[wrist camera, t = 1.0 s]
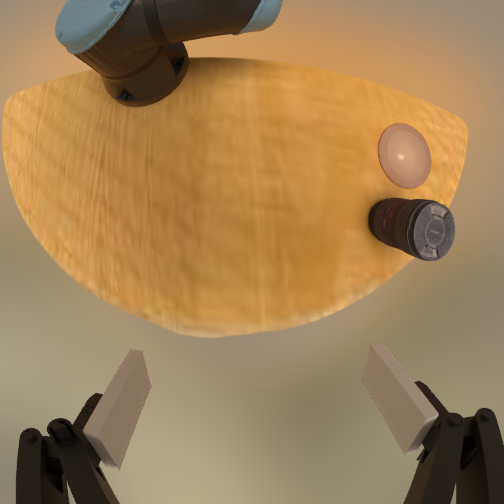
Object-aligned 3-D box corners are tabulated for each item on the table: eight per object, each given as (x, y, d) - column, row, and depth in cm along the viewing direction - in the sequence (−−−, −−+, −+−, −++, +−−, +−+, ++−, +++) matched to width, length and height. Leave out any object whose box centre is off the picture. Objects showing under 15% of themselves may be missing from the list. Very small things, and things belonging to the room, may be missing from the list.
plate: (366, 137, 40) (368, 136, 40) (411, 116, 39) (413, 115, 39) (396, 199, 43) (398, 199, 42) (437, 173, 42) (439, 172, 41)
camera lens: (366, 193, 42) (417, 195, 28) (404, 200, 43) (459, 205, 28) (361, 241, 44) (409, 261, 29) (399, 244, 44) (451, 264, 30)
